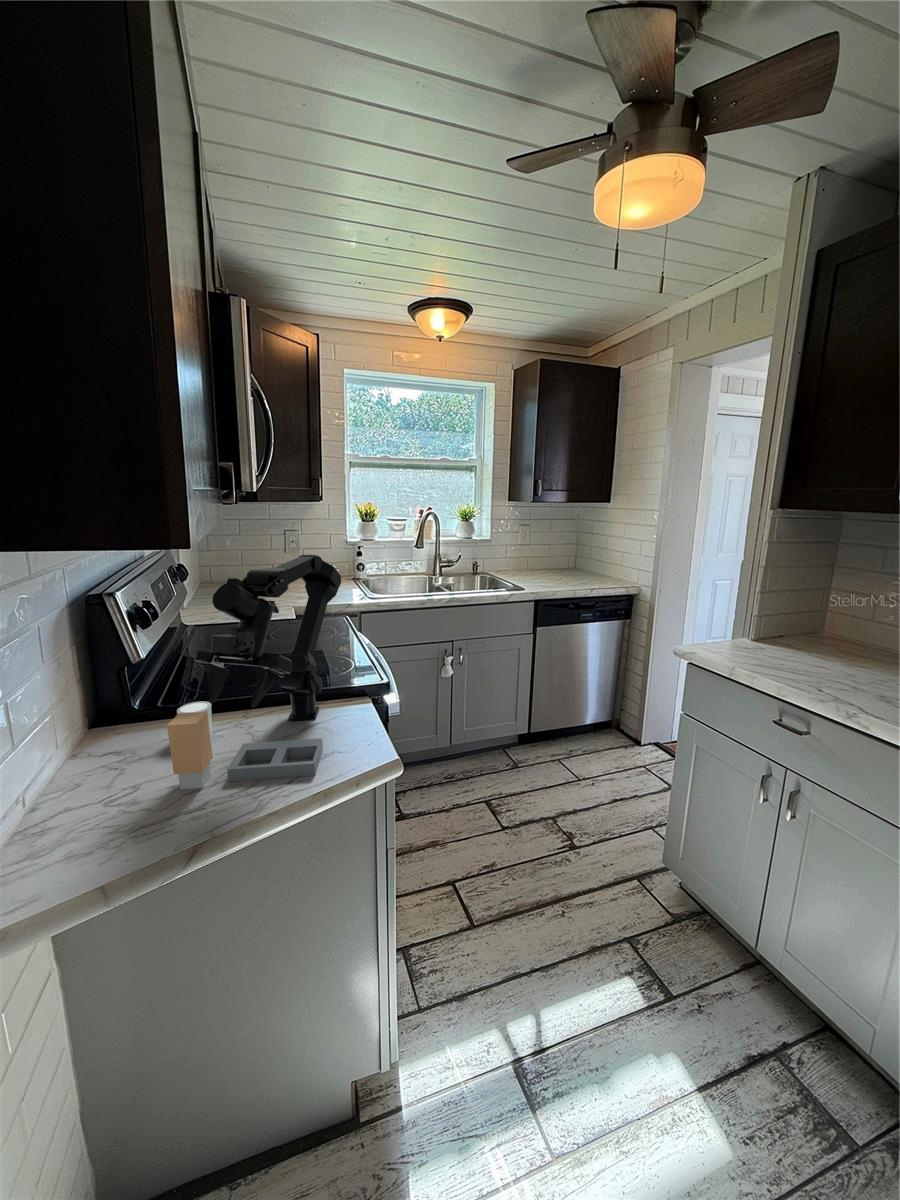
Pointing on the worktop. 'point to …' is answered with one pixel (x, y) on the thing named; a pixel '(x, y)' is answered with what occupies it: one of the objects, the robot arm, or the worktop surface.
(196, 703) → the white cylinder
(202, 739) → the plug
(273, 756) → the socket block
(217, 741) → the worktop surface
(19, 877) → the worktop surface
